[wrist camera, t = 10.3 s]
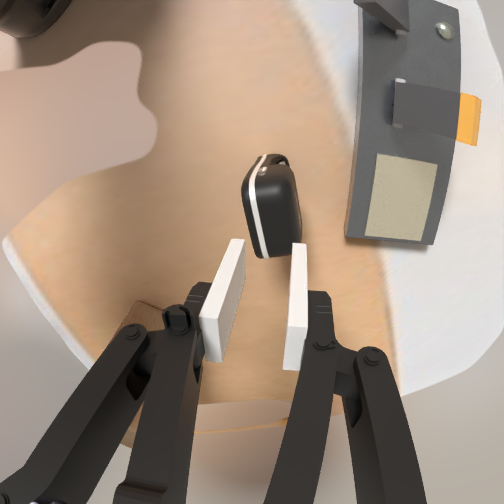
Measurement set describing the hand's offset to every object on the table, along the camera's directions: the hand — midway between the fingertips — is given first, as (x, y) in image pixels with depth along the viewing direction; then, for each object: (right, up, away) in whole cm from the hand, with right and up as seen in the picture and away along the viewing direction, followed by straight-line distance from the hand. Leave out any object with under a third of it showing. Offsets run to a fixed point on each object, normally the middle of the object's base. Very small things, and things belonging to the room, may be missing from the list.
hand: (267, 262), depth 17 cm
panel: (+15, +15, +8) cm, 23 cm away
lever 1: (+13, +23, 0) cm, 26 cm away
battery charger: (+2, +8, +15) cm, 17 cm away
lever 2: (+13, +14, +5) cm, 20 cm away
